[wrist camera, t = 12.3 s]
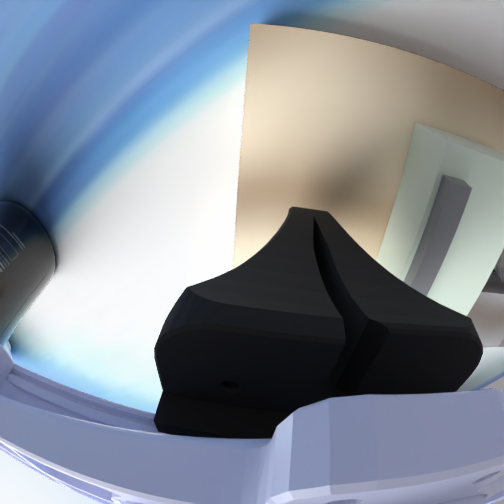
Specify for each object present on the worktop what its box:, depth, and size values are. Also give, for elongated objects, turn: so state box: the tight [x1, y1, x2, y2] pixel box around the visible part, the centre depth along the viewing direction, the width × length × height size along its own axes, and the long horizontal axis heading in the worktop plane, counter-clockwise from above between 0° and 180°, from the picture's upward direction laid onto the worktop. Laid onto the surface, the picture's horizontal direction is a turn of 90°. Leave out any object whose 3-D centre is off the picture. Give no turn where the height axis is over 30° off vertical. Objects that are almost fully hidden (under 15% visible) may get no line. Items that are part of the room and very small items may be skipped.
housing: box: [233, 24, 504, 347], centre depth 13 cm, size 14×19×2 cm
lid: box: [376, 122, 504, 316], centre depth 11 cm, size 9×4×3 cm, turn 175°
